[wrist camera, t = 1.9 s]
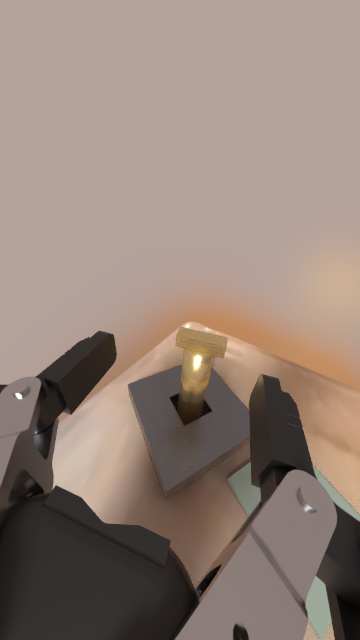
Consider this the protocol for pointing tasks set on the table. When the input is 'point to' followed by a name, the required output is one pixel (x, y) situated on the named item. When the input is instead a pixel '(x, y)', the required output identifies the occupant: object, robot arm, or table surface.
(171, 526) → the table surface
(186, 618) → the robot arm
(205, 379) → the t key
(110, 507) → the table surface
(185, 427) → the cover plate
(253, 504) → the mat
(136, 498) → the table surface
